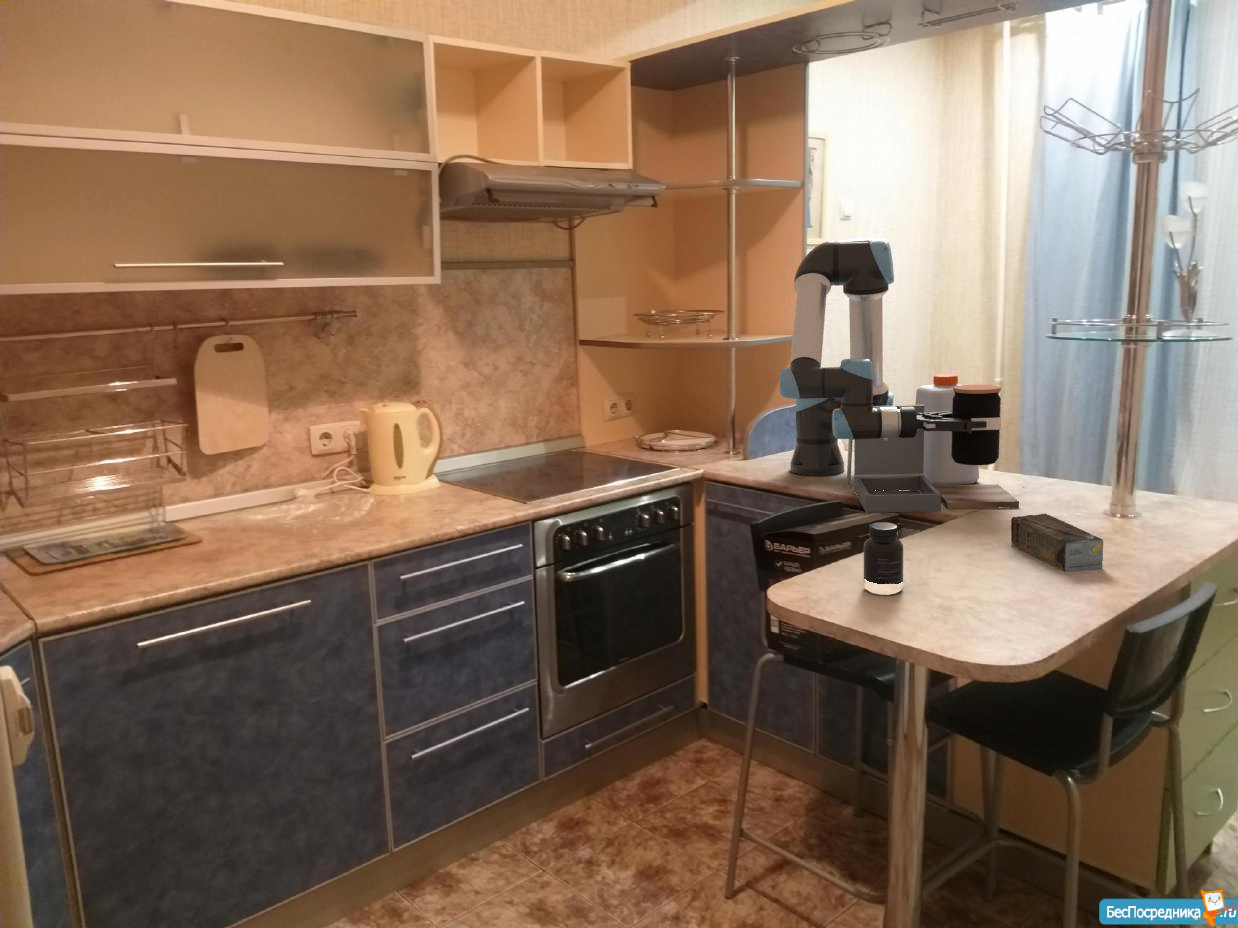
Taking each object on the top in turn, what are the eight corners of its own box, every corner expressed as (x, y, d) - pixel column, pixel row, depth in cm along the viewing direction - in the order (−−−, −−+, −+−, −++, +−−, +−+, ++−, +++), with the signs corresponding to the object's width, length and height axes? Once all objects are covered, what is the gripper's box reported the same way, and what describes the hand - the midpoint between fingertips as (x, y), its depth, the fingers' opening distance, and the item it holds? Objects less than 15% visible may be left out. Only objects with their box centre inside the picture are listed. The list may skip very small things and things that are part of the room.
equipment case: (846, 486, 247) (846, 404, 242) (918, 485, 244) (919, 401, 240) (859, 512, 220) (859, 420, 216) (940, 511, 218) (942, 418, 213)
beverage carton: (1063, 573, 172) (1065, 539, 170) (1008, 545, 190) (1009, 514, 189) (1104, 570, 172) (1105, 535, 171) (1044, 542, 191) (1046, 511, 190)
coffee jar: (991, 457, 229) (993, 383, 226) (1004, 465, 219) (1007, 388, 215) (946, 458, 230) (947, 385, 227) (957, 466, 220) (959, 390, 216)
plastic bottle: (930, 488, 240) (932, 380, 234) (904, 476, 255) (905, 374, 249) (985, 483, 242) (988, 376, 237) (955, 472, 257) (958, 370, 251)
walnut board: (932, 491, 237) (932, 485, 237) (997, 490, 235) (997, 484, 234) (947, 508, 219) (947, 502, 219) (1018, 507, 217) (1019, 501, 217)
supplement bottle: (858, 585, 170) (858, 521, 168) (894, 582, 171) (895, 519, 168) (871, 597, 164) (871, 531, 161) (909, 594, 164) (909, 528, 162)
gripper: (890, 430, 237) (980, 428, 234) (906, 446, 214) (1006, 443, 212) (890, 401, 236) (981, 398, 233) (906, 413, 213) (1007, 410, 210)
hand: (993, 420), depth 222 cm, fingers closed on coffee jar, 11 cm apart
